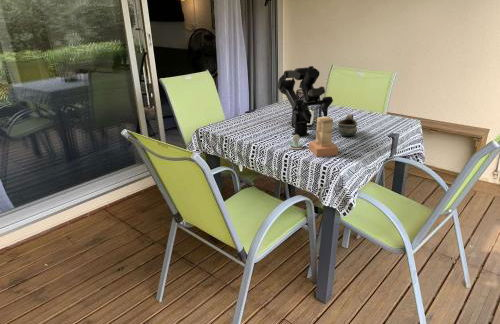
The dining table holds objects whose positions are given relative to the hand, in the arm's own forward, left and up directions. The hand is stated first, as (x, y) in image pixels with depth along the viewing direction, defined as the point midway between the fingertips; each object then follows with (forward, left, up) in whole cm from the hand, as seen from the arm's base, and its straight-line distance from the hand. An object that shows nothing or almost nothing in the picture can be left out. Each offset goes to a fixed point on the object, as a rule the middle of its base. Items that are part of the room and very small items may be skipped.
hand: (317, 119), depth 169 cm
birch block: (+6, -2, -10) cm, 12 cm away
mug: (-4, +24, -14) cm, 28 cm away
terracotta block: (+7, -2, -14) cm, 16 cm away
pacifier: (-5, -9, -14) cm, 17 cm away
